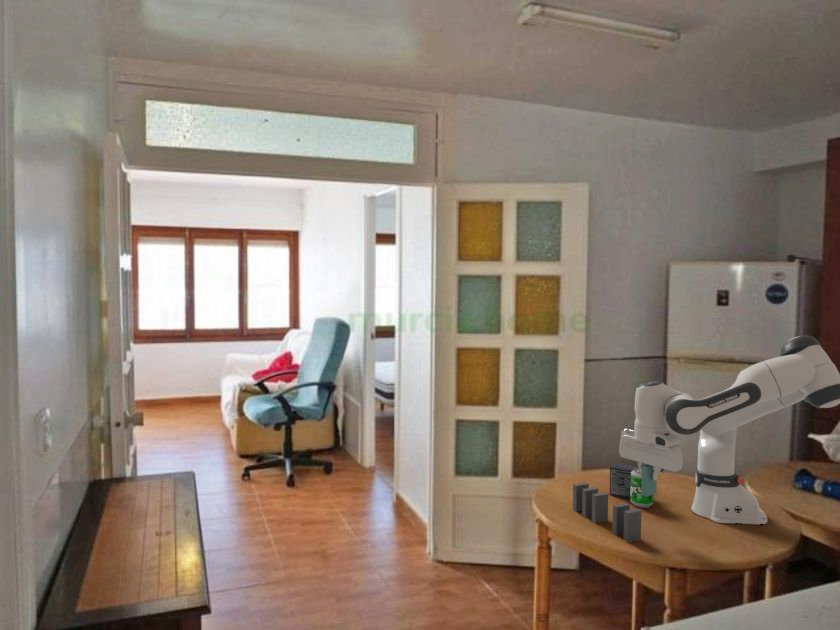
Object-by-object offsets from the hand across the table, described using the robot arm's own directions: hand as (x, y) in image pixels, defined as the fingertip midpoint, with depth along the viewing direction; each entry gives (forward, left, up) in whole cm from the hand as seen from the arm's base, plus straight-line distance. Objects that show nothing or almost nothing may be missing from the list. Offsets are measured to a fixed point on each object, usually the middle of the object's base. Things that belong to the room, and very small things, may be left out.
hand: (649, 478), depth 185 cm
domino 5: (+5, +6, -17) cm, 19 cm away
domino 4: (+8, +3, -17) cm, 19 cm away
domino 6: (0, 0, -5) cm, 5 cm away
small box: (+6, -32, -18) cm, 37 cm away
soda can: (+1, -24, -18) cm, 30 cm away
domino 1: (+21, -13, -17) cm, 30 cm away
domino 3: (+15, -5, -17) cm, 23 cm away
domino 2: (+18, -9, -17) cm, 26 cm away
